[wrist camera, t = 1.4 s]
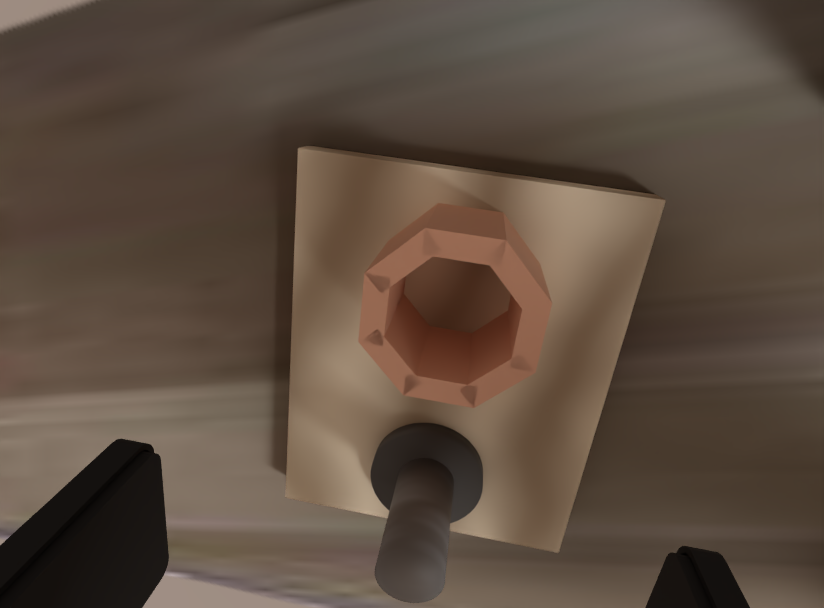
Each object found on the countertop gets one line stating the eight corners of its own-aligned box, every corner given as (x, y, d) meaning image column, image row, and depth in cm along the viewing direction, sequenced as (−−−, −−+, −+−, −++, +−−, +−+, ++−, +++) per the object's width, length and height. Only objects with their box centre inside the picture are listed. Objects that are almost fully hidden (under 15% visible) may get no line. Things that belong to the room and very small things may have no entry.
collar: (550, 219, 23) (565, 249, 18) (518, 359, 25) (524, 417, 21) (393, 196, 23) (369, 219, 19) (378, 336, 26) (354, 386, 21)
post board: (655, 194, 23) (739, 241, 15) (555, 532, 31) (577, 680, 23) (308, 145, 25) (223, 165, 17) (294, 480, 32) (230, 603, 24)
